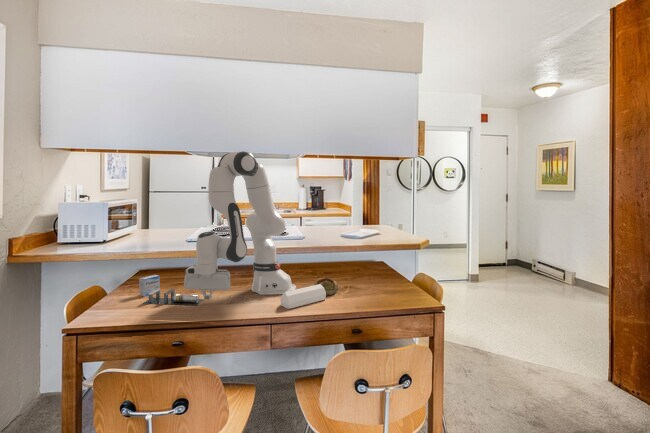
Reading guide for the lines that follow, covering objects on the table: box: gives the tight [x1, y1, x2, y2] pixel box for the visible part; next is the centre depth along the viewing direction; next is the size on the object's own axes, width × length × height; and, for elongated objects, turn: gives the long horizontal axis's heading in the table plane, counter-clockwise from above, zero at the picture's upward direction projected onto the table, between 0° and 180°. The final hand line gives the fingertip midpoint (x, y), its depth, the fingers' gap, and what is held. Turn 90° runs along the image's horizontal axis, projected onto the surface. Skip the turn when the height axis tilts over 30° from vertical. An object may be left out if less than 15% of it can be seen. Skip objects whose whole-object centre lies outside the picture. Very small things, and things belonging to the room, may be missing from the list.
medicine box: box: [138, 274, 161, 297], centre depth 172 cm, size 8×4×9 cm, turn 148°
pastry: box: [313, 277, 339, 296], centre depth 179 cm, size 14×12×8 cm
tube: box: [172, 293, 200, 303], centre depth 161 cm, size 11×3×3 cm, turn 86°
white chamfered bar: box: [279, 284, 327, 310], centre depth 162 cm, size 7×7×24 cm
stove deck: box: [141, 287, 206, 307], centre depth 161 cm, size 25×9×5 cm, turn 86°
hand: (207, 299), depth 160 cm, fingers closed
